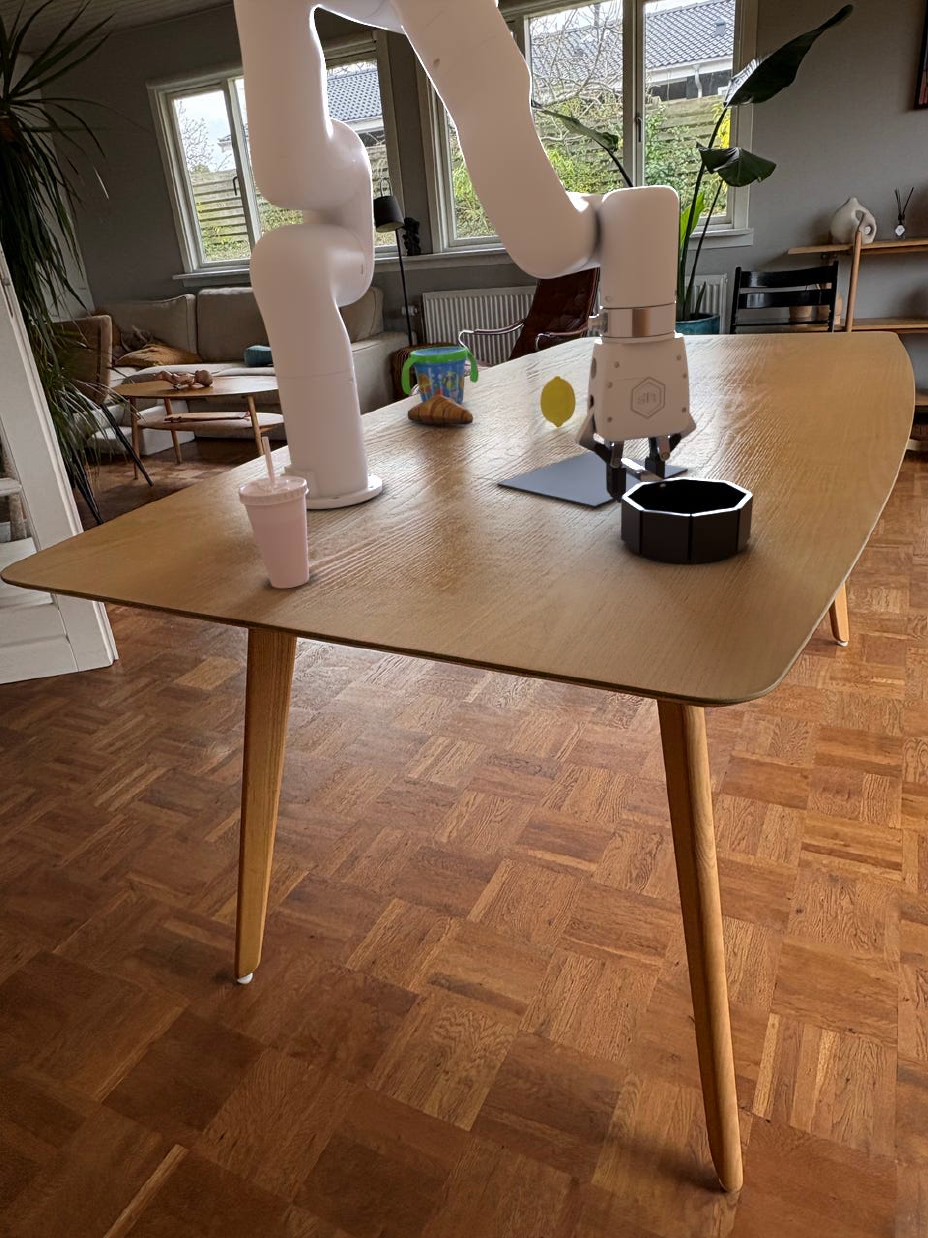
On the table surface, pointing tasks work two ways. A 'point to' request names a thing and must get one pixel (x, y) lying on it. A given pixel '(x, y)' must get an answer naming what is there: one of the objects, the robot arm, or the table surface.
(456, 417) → the croissant
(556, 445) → the table surface
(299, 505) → the smoothie
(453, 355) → the snack cup
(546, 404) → the lemon
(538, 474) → the mat
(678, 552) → the black octagonal pot
